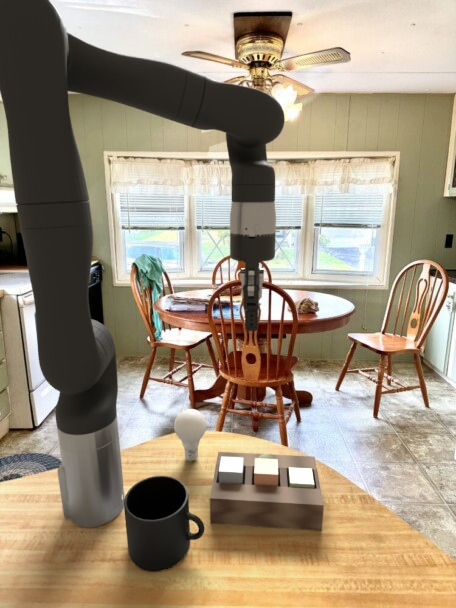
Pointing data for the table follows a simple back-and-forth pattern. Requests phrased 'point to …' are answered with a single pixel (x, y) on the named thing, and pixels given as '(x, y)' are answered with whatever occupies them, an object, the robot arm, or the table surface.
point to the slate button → (231, 470)
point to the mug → (159, 523)
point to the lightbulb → (190, 431)
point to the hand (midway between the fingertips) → (251, 329)
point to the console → (267, 497)
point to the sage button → (300, 478)
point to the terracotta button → (266, 472)
